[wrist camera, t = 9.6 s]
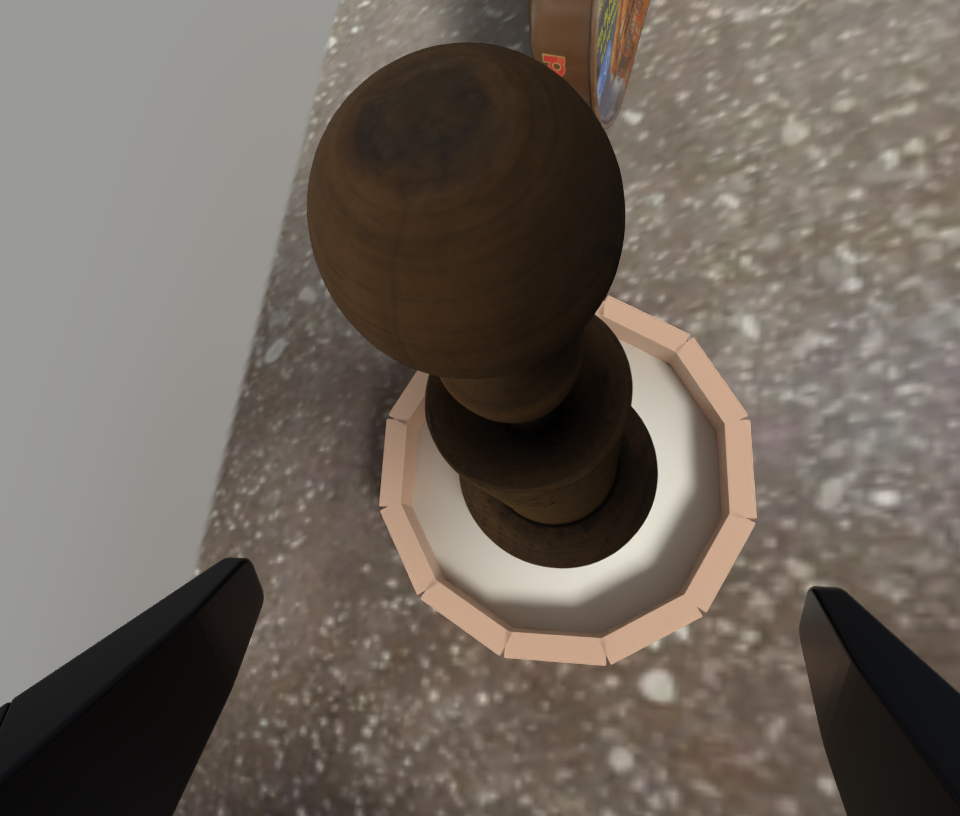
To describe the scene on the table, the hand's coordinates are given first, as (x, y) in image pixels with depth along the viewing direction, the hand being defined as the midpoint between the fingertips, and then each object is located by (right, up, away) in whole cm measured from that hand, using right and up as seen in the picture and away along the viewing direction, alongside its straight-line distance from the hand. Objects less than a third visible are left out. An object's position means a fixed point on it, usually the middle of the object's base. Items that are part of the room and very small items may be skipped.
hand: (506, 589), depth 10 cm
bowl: (+3, 0, +13) cm, 13 cm away
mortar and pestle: (+2, 0, +12) cm, 12 cm away
